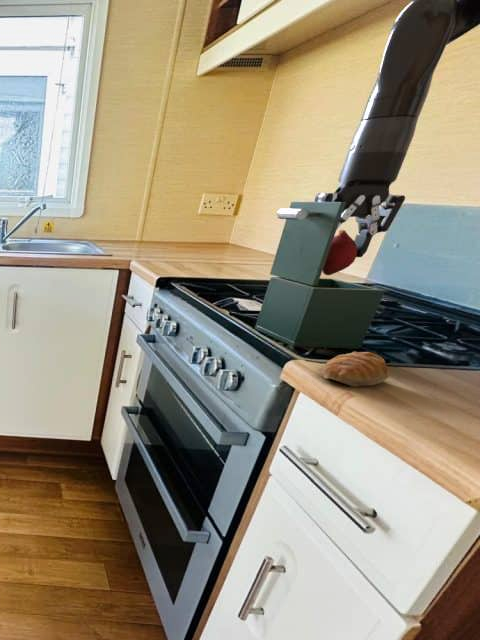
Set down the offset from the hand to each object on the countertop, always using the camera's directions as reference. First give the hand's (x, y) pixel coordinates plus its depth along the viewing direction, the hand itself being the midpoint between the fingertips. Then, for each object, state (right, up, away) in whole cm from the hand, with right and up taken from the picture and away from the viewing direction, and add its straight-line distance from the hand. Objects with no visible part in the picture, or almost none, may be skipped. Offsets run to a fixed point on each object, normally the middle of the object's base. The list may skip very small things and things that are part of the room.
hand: (338, 255), depth 77 cm
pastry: (-9, -23, -13) cm, 28 cm away
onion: (0, -3, +2) cm, 4 cm away
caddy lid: (-7, +2, -1) cm, 7 cm away
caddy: (-1, -14, +6) cm, 16 cm away
